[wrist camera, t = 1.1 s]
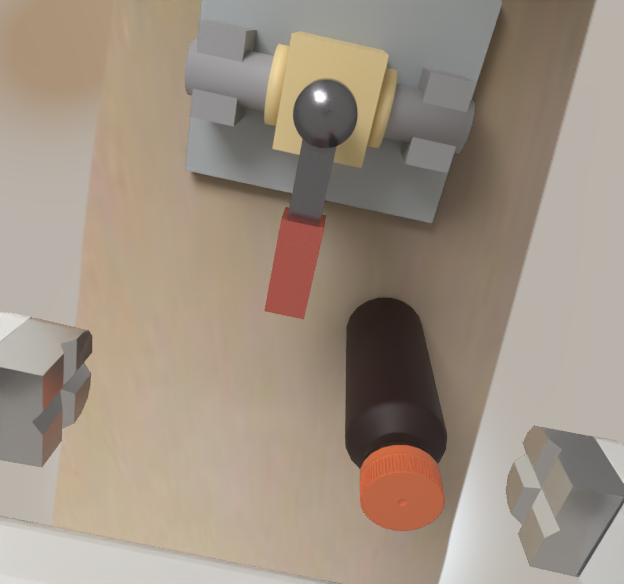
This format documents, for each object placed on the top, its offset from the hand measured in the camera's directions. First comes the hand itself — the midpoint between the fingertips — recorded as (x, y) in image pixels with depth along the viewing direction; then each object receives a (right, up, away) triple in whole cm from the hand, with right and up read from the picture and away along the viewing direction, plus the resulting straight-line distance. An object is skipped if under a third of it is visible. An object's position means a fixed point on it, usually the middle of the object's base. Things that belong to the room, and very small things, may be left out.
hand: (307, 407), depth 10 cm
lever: (0, +8, +25) cm, 26 cm away
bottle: (+7, -1, +40) cm, 41 cm away
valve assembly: (+2, +17, +31) cm, 35 cm away
